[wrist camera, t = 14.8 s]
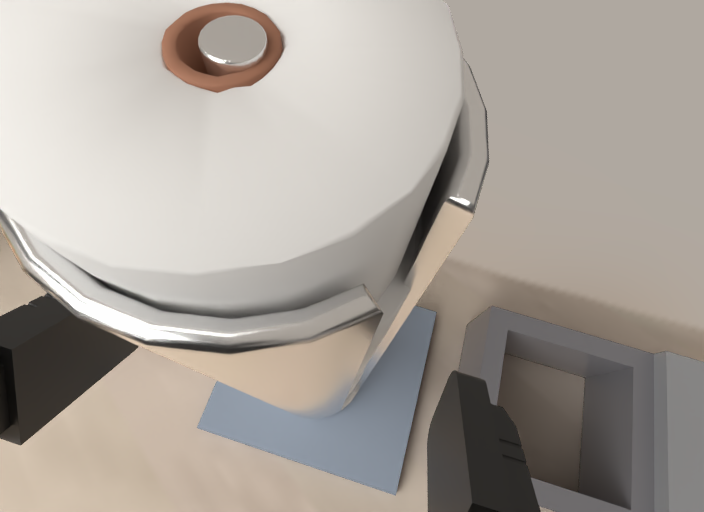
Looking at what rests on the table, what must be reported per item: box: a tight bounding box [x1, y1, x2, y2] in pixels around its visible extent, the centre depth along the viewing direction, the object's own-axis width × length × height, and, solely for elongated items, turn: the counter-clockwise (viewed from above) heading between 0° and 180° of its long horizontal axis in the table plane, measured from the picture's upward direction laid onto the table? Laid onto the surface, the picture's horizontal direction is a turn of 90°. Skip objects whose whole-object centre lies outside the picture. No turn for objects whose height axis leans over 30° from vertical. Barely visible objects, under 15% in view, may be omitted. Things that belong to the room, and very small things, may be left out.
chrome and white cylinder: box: [0, 0, 489, 419], centre depth 16 cm, size 6×6×25 cm
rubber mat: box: [197, 306, 437, 495], centre depth 28 cm, size 13×12×1 cm
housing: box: [458, 306, 704, 512], centre depth 24 cm, size 18×10×6 cm, turn 73°
